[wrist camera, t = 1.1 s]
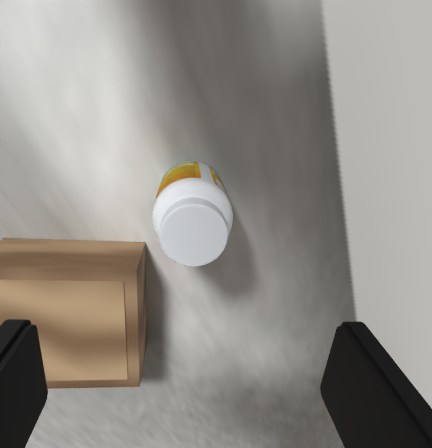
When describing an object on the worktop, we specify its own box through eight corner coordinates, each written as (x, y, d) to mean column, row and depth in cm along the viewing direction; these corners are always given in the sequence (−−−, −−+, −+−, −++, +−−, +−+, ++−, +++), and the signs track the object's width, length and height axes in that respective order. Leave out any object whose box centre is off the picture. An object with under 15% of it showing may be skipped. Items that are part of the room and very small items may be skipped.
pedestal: (3, 238, 27) (-36, 267, 22) (145, 242, 28) (136, 271, 23) (25, 346, 31) (-4, 390, 26) (146, 345, 32) (139, 387, 28)
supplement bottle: (151, 207, 27) (132, 261, 18) (173, 149, 25) (165, 176, 16) (207, 228, 28) (217, 289, 19) (232, 174, 26) (256, 213, 17)
